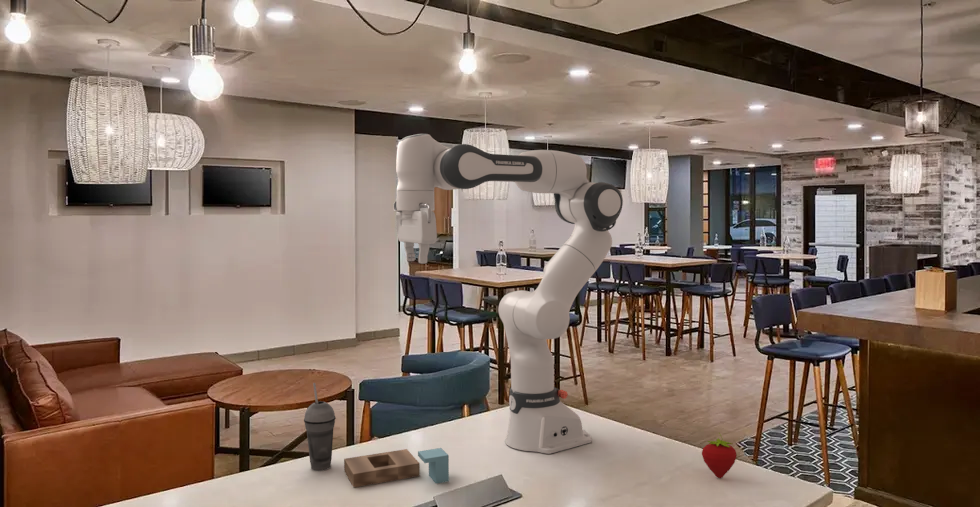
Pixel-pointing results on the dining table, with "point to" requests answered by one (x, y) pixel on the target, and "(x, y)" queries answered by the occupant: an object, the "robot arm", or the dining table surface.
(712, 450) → the strawberry
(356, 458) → the well block
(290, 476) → the dining table surface
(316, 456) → the beverage cup
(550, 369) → the robot arm
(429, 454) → the bracket
